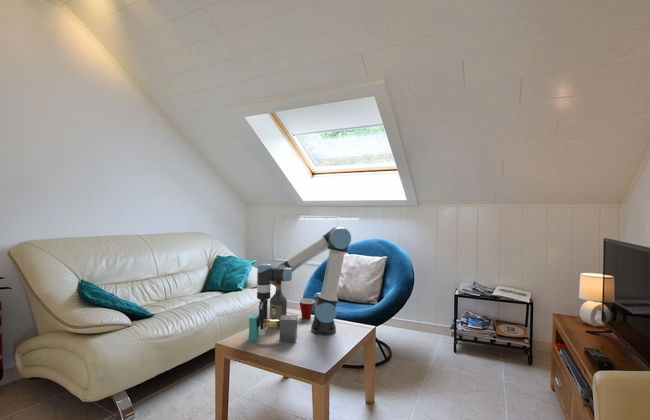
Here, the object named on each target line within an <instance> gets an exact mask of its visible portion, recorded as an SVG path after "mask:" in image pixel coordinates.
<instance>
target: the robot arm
mask: <svg viewBox="0 0 650 420" xmlns="http://www.w3.org/2000/svg"><path fill="white" fill-rule="evenodd" d="M321 237H322V238H320V239H318V240H317V241H315V242H313V243H312V244H310V245H309V246H307V247H306V248H304V249H303V250H301V251H299V253H297V254H295V255H294V256H292V257H290V258H289V259H287V260H286V261H284V262H282V263H280V264H279V265H278V266H277V267H272V264H270V263H259V264H257V273H256V275H257V277H256V285H255V287H256V291H257V292H256V298H257V300H260V302H259V305H258V314H259V322H258V323H260V327H259V336H261V335H262V336H263V335H264V336H265V333H266V332H267V327H266V328H265V323H264V319H266V320H269V317H268V303H269V299H271V291H272V289H271V288H272V287H271V285H272V284H271V283H272V282H276V281H282V282H291V281H292V279H293V272H294V271H296V270H298V269H300V268H301V267H303V266H304V265H305V264H307V263H309V262H310V261H312V260H314V259H315V258H316V257H318V256H319V255H321V254H323V253H324V252H326V251H328V258H327V263H326V268H325V273H324V278H323V282H322V286H321V292H316V293H315V294H314V301H315V302H314V304H313V307H314V308H313V309H314V313H313V314H314V315H313V316H314V317H313V321H312V323H311V327H310V331H311V332H312V333H313V334H314V335H320V336H321V335H322V336H328V335H332V334H335V333H336V332H337V326H336V322H335V319H336V317H337V315H338V314H337V305H338V302H339V300H338V296H337V293H338V288H339V281H340V277H341V271H342V268H343V262H344V258H345V255H346V254H348V252H349V251H348V250H349V246H350V244H351V242H352V234H351V233H350V231H349V229H348V228H346V227H343V226H338V225H337V226H334V227H332V228H331V229H330V230H329V231H327V232H326V233H325V234H323V235H322V236H321Z"/></svg>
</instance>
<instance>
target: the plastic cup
mask: <svg viewBox="0 0 650 420" xmlns="http://www.w3.org/2000/svg"><path fill="white" fill-rule="evenodd" d="M298 302H299V307H300V314H301V319H303V320H309V319H311V316H312V311H313V309H314V308H313V307H314V304H315V299H312V298H299V300H298Z"/></svg>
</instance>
